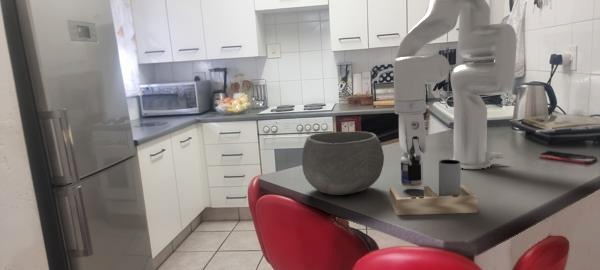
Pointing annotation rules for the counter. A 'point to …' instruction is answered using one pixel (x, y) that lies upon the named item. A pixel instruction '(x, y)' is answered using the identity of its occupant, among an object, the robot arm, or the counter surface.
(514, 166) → the counter surface
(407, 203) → the slot rack
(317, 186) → the bowl
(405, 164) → the pill bottle
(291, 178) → the counter surface
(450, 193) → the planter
